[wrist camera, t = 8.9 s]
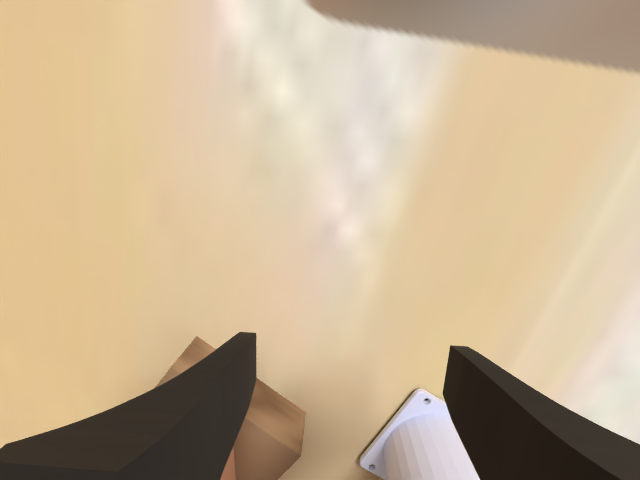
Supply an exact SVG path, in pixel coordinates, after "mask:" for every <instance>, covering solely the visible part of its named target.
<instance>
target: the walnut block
mask: <svg viewBox="0 0 640 480" xmlns="http://www.w3.org/2000/svg"><path fill="white" fill-rule="evenodd" d="M215 350H216V349H215V348H213V347H212V346H210V345H209V344H207V343H206V342H205V341H203V340H202V339H200V338H199V337H196V338H195V339H194V340H193V341H192V343H191V344H190V345H189V346H188V348H187V349H186V350H185V351H184V352H183V354H182V355H181V356H180V357H179V358H178V360H177V361H176V362H175V363H174V364H173V366H172V367H171V368H170V369H169V371H168V372H167V373H166V375H165V376H164V377H163V378H162V380H161V381H160V382H159V384H158V385H157V386H156V387H158V386H160V385H162V384H164V383H166V382H167V381H169V380H171V379H173V378H174V377H176V376H178V375H179V374H181V373H182V372H184V371H185V370H187V369H188V368H190V367H192V366H193V365H195V364H196V363H198V362H199V361H201V360H202V359H204V358H205V357H207V356H208V355H209V354H211V353H212V352H213V351H215ZM156 387H155V388H156ZM305 414H306V413H305V412H304V411H303V410H301V409H300V408H298V407H297V406H295V405H294V404H293V403H291V402H290V401H288V400H287V399H286V398H284V397H283V396H281V395H280V394H278V393H277V392H276V391H274V390H273V389H271V388H270V387H268V386H267V385H266V384H264V383H263V382H261V381H260V380H259V379H257V378H256V383H255V387H254V391H253V395H252V398H251V402H250V406H249V409H248V411H247V414H246V416H245V419H244V421H243V424H242V426H241V429H240V431H239V434H238V436H237V438H236V441H235V443H234V446H233V449H234V461H235V474H236V480H277V479H278V478H279V477H280V476H281V475H282V474H283V473H284V472H285V471H286V470H287V469H288V468H289V467H290V466H291V465H292V464H293V463H294V462H295V461H296V460H297V459H298V458H299V457H300V456H301V449H302V441H303V432H304V423H305Z"/></svg>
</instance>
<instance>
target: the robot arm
mask: <svg viewBox="0 0 640 480" xmlns="http://www.w3.org/2000/svg"><path fill="white" fill-rule="evenodd" d="M255 383H256V333H247V332H239V333H238V334H236V335H235V336H234V337H232V338H231V339H230V340H228V341H227V342H226V343H224V344H223V345H222V346H220V347H219V348H218V349H216V350H215V351H213V352H212V353H211V354H209V355H208V356H207V357H205V358H204V359H202V360H201V361H199V362H198V363H196V364H195V365H193V366H192V367H190V368H188V369H187V370H185V371H184V372H182V373H181V374H179V375H178V376H176V377H174V378H173V379H171V380H169V381H167V382H166V383H164V384H162V385H160V386H158V387H156V388H154V389H152V390H151V391H149V392H147V393H145V394H142V395H140V396H138V397H136V398H134V399H132V400H129V401H127V402H125V403H123V404H121V405H118V406H116V407H114V408H112V409H109V410H107V411H104V412H102V413H99V414H97V415H94V416H92V417H89V418H86V419H83V420H81V421H78V422H75V423H72V424H70V425H67V426H64V427H61V428H58V429H55V430H51V431H48V432H45V433H42V434H38V435H35V436H32V437H29V438H25V439H22V440H19V441H15V442H12V443H8V444H6V445H4V446H3V447H2V448H1V449H0V480H220V479H221V476H222V473H223V470H224V468H225V465H226V463H227V461H228V458H229V456H230V453H231V451H232V448H233V446H234V443H235V441H236V438H237V436H238V434H239V431H240V429H241V426H242V424H243V421H244V419H245V416H246V414H247V411H248V409H249V406H250V402H251V398H252V395H253V391H254V387H255ZM443 396H444V399H445V402H444V401H443V400H441V399H439V398H437V397H436V396H434V395H432V394H431V393H429V392H427V391H425V390H423V389H417V390H415V391H414V392H413V393H412V395H411V396H410V397H409V398H408V400H407V401H406V402H405V403H404V404H403V406H402V407H401V408H400V409H399V410H398V412H397V413H396V414H395V415H394V417H393V418H392V419H391V420H390V421H389V423H388V424H387V425H386V426H385V428H384V429H383V430H382V431H381V432H380V434H379V435H378V436H377V437H376V439H375V440H374V441H373V442H372V443H371V445H370V446H369V447H368V448H367V450H366V451H365V452H364V453H363V454H362V456H361V457H360V466H361V467H362V468H364V469H366V470H368V471H369V472H371V473H373V474H375V475H377V476H379V477H380V478H382V479H384V480H640V444H638V443H635V442H633V441H631V440H629V439H627V438H624V437H622V436H620V435H618V434H616V433H614V432H612V431H610V430H608V429H605V428H603V427H601V426H599V425H597V424H595V423H593V422H592V421H590V420H588V419H586V418H584V417H582V416H580V415H578V414H576V413H575V412H573V411H571V410H569V409H567V408H565V407H564V406H562V405H560V404H558V403H556V402H555V401H553V400H551V399H550V398H548V397H546V396H545V395H543V394H541V393H540V392H538V391H536V390H535V389H533V388H532V387H530V386H528V385H527V384H525V383H524V382H522V381H520V380H519V379H517V378H516V377H514V376H513V375H511V374H510V373H508V372H507V371H505V370H504V369H502V368H501V367H499V366H498V365H496V364H495V363H493V362H492V361H490V360H489V359H487V358H486V357H484V356H482V355H481V354H479V353H478V352H476V351H474V350H473V349H471V348H469V347H465V346H450V351H449V358H448V364H447V370H446V376H445V383H444V389H443ZM426 398H428V400H426V401H424V399H426ZM371 464H373V465H371Z"/></svg>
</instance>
